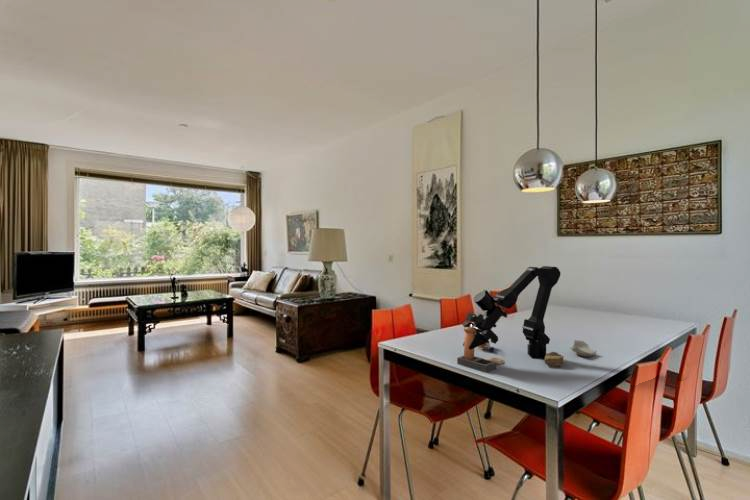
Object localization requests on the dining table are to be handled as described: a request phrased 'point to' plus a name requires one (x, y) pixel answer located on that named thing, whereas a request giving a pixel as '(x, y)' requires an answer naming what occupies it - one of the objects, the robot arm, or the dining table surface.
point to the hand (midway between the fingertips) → (466, 347)
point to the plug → (469, 342)
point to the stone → (553, 359)
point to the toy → (487, 347)
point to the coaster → (496, 360)
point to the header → (477, 363)
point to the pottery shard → (582, 348)
